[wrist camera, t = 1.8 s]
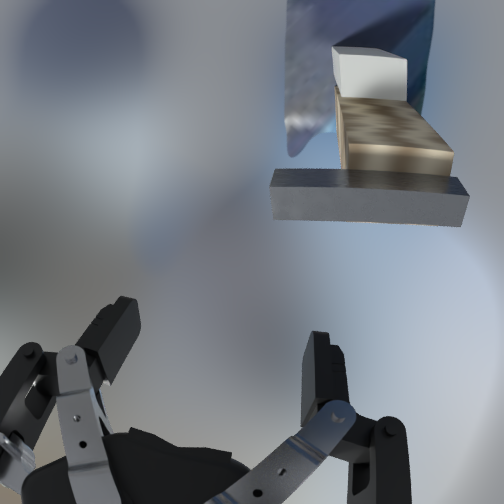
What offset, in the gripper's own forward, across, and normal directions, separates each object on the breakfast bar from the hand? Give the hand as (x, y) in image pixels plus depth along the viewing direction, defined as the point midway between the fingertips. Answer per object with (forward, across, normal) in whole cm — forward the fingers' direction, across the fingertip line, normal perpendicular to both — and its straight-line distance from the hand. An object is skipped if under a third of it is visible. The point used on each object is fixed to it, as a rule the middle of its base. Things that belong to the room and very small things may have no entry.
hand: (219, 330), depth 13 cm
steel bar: (+22, -12, -2) cm, 25 cm away
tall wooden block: (+53, -17, -11) cm, 56 cm away
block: (+50, -13, -21) cm, 56 cm away
